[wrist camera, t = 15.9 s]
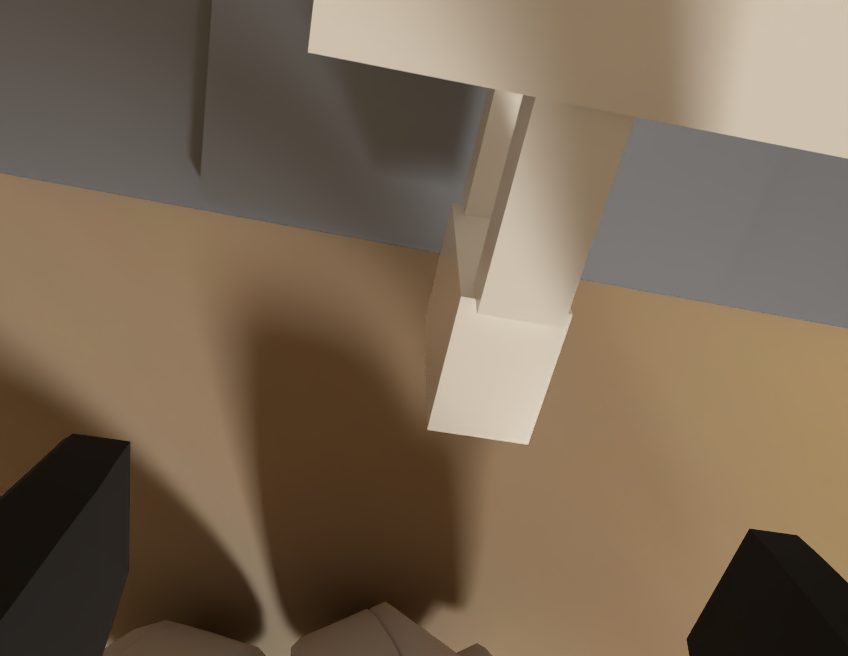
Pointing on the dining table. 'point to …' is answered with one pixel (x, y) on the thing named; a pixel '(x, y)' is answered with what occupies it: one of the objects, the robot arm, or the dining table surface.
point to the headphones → (316, 652)
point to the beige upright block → (575, 149)
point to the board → (386, 150)
